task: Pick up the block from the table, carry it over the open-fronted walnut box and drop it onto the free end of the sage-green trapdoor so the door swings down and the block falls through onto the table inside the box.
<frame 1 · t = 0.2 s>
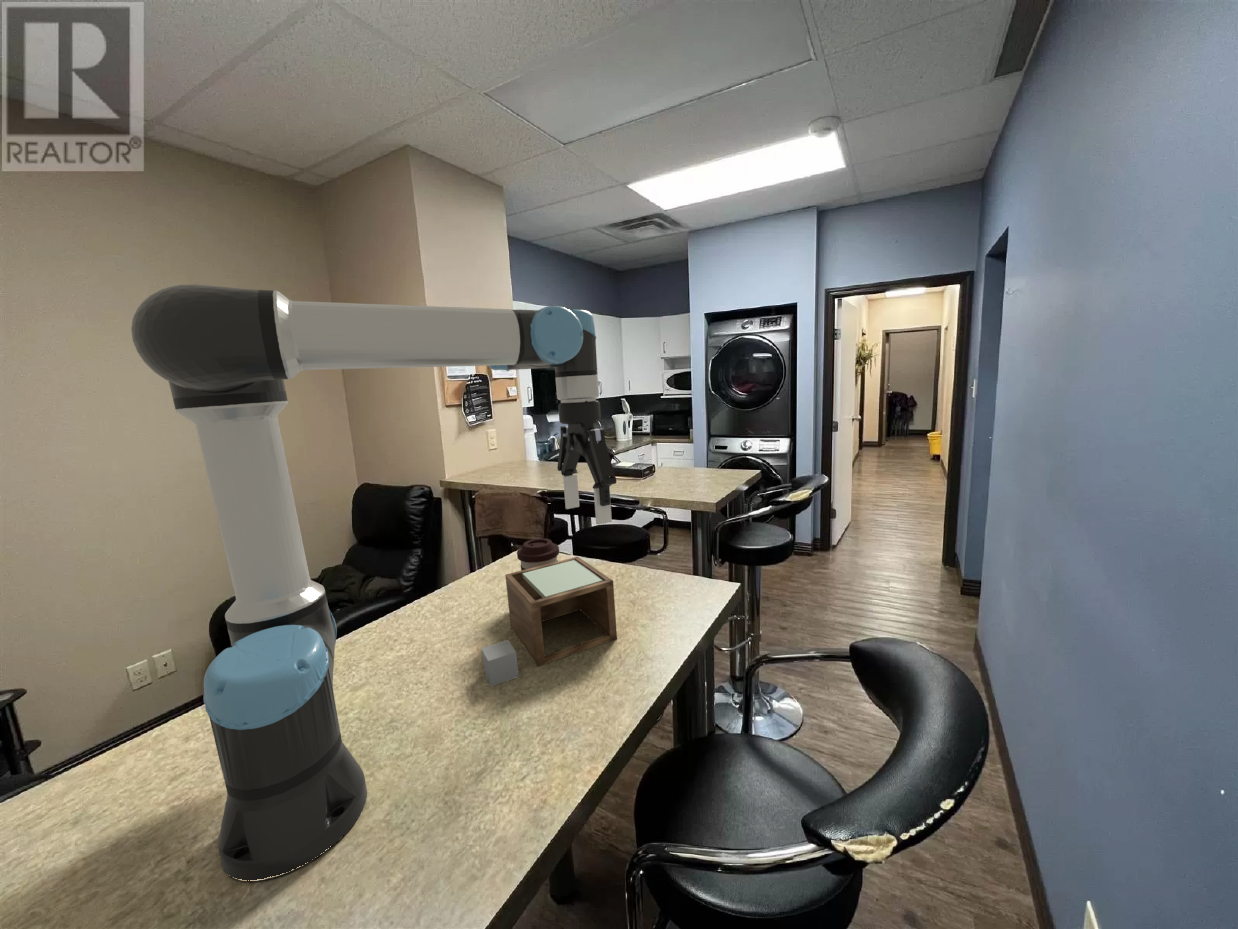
hand: (587, 514, 90), 27 cm above the table, fingers open, 13 cm apart
coffee cup: (543, 602, 117), on the table
box frame: (562, 633, 101), on the table
trapdoor: (562, 578, 99), point 12 cm above the table, hinge at -0.3°
block: (501, 675, 88), on the table
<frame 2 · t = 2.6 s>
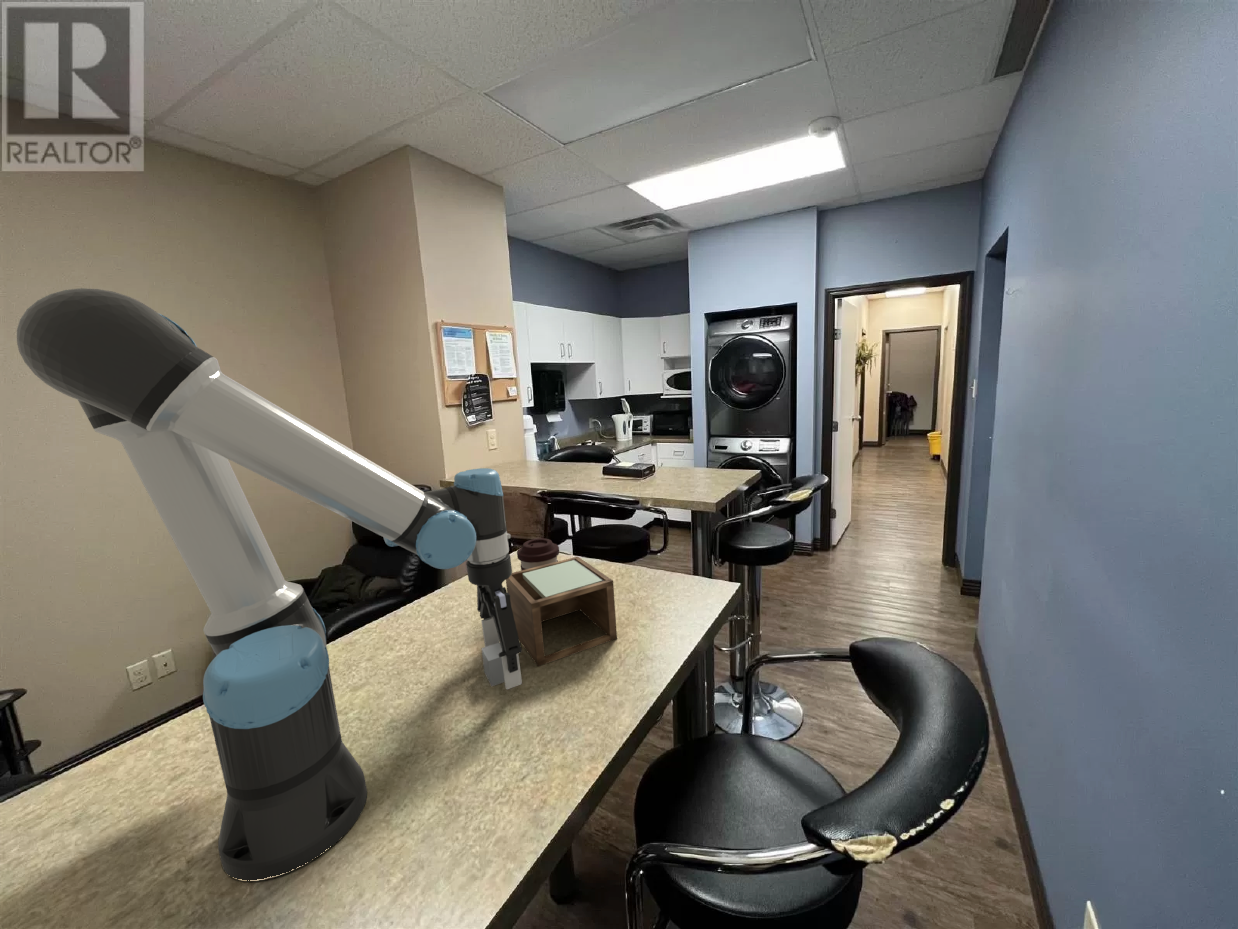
hand: (502, 666, 88), 1 cm above the table, fingers open, 13 cm apart
nothing on the table moved.
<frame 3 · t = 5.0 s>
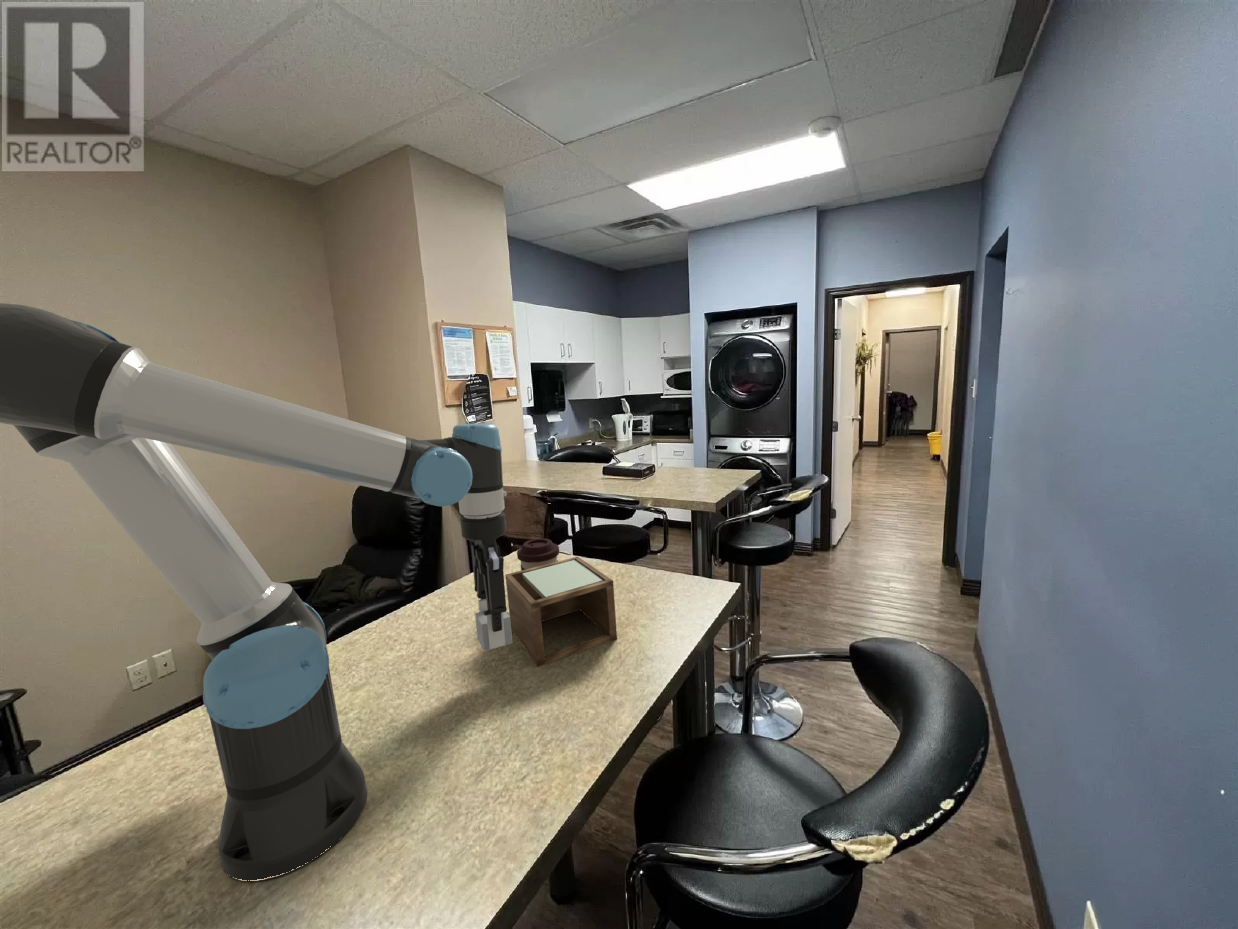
hand: (492, 638, 86), 7 cm above the table, fingers closed on block, 5 cm apart
block: (494, 641, 86), point 7 cm above the table, touching gripper
everything else where it was.
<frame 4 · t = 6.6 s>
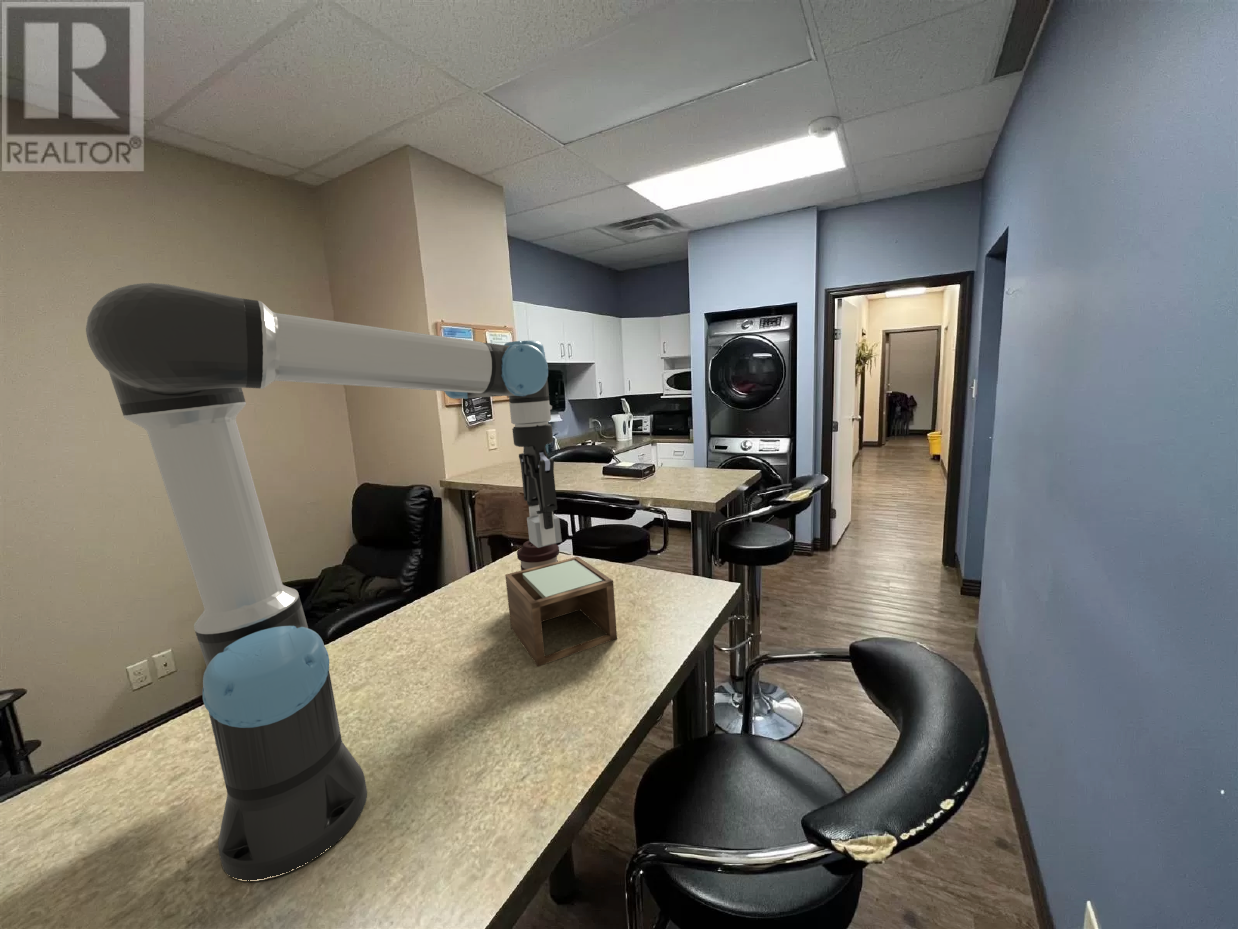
hand: (543, 539, 96), 21 cm above the table, fingers closed on block, 5 cm apart
block: (545, 541, 96), point 21 cm above the table, touching gripper
everything else where it was.
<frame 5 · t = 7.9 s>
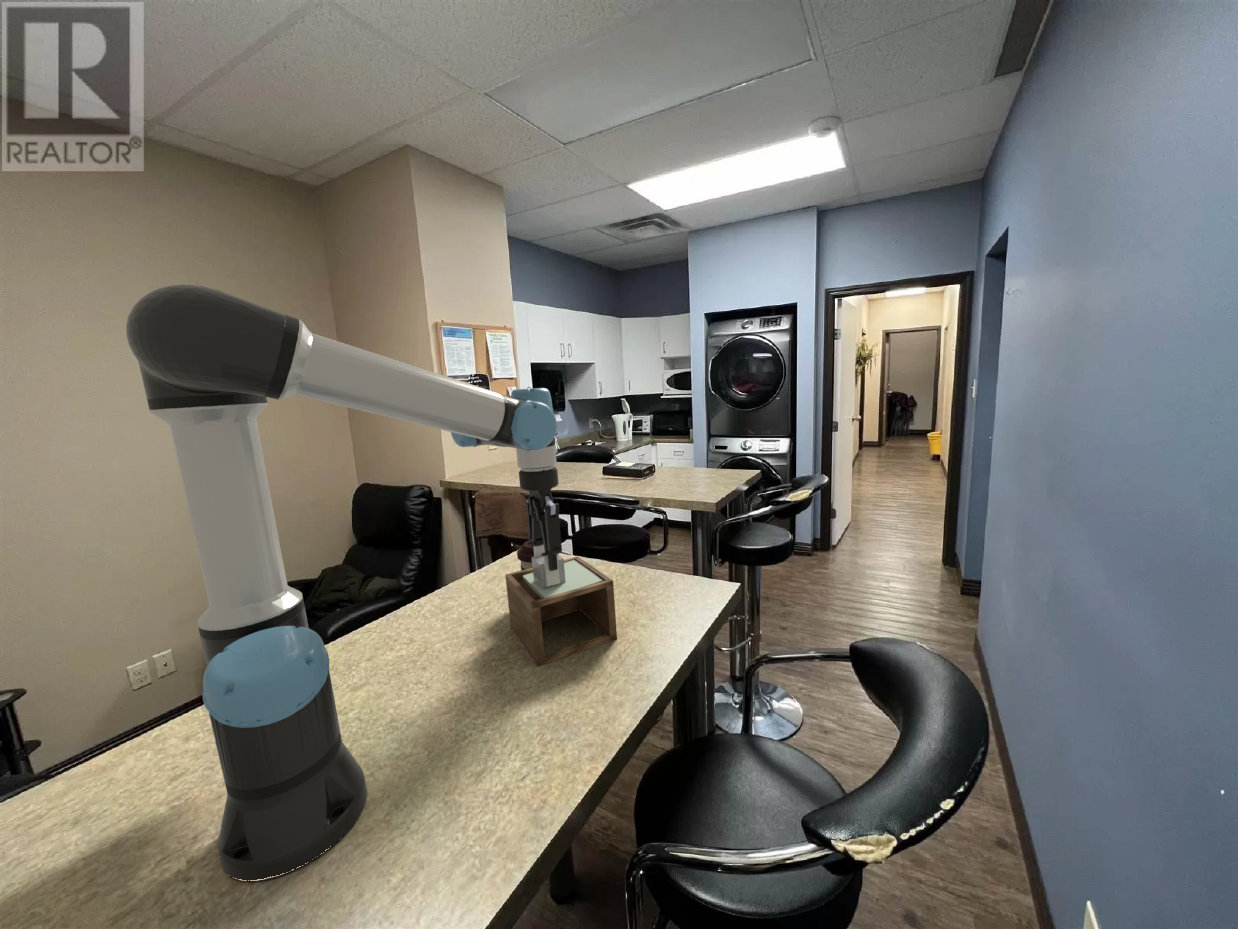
hand: (547, 579, 98), 13 cm above the table, fingers closed on block, 5 cm apart
trapdoor: (562, 579, 99), point 12 cm above the table, hinge at -2.9°, touching block
block: (549, 581, 98), point 12 cm above the table, touching gripper, trapdoor
everything else where it was.
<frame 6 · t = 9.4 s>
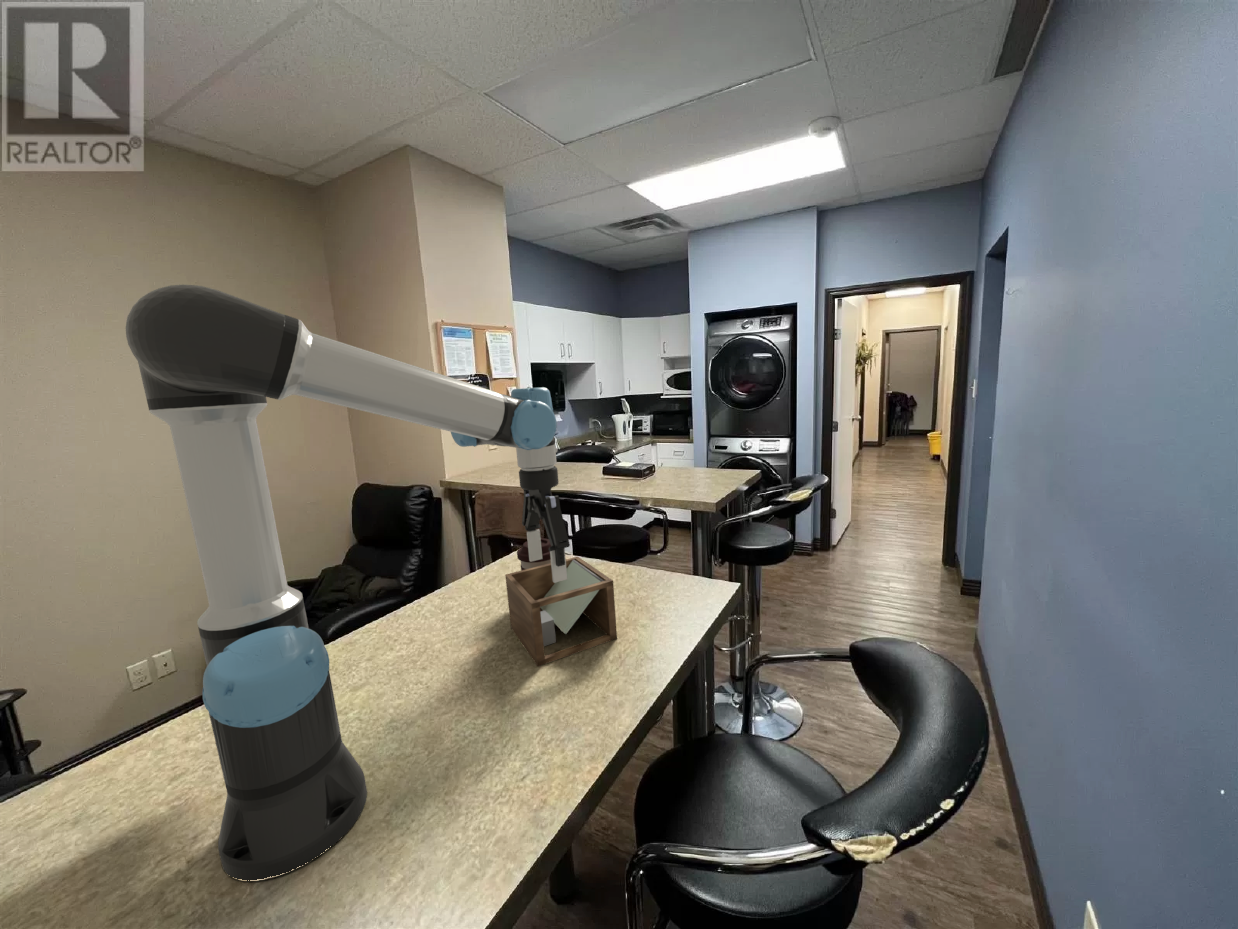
hand: (547, 569, 97), 15 cm above the table, fingers open, 13 cm apart
trapdoor: (570, 594, 101), point 8 cm above the table, hinge at -41.7°, touching block
block: (550, 625, 99), point 3 cm above the table, tilted 91°, touching box frame, trapdoor
everything else where it was.
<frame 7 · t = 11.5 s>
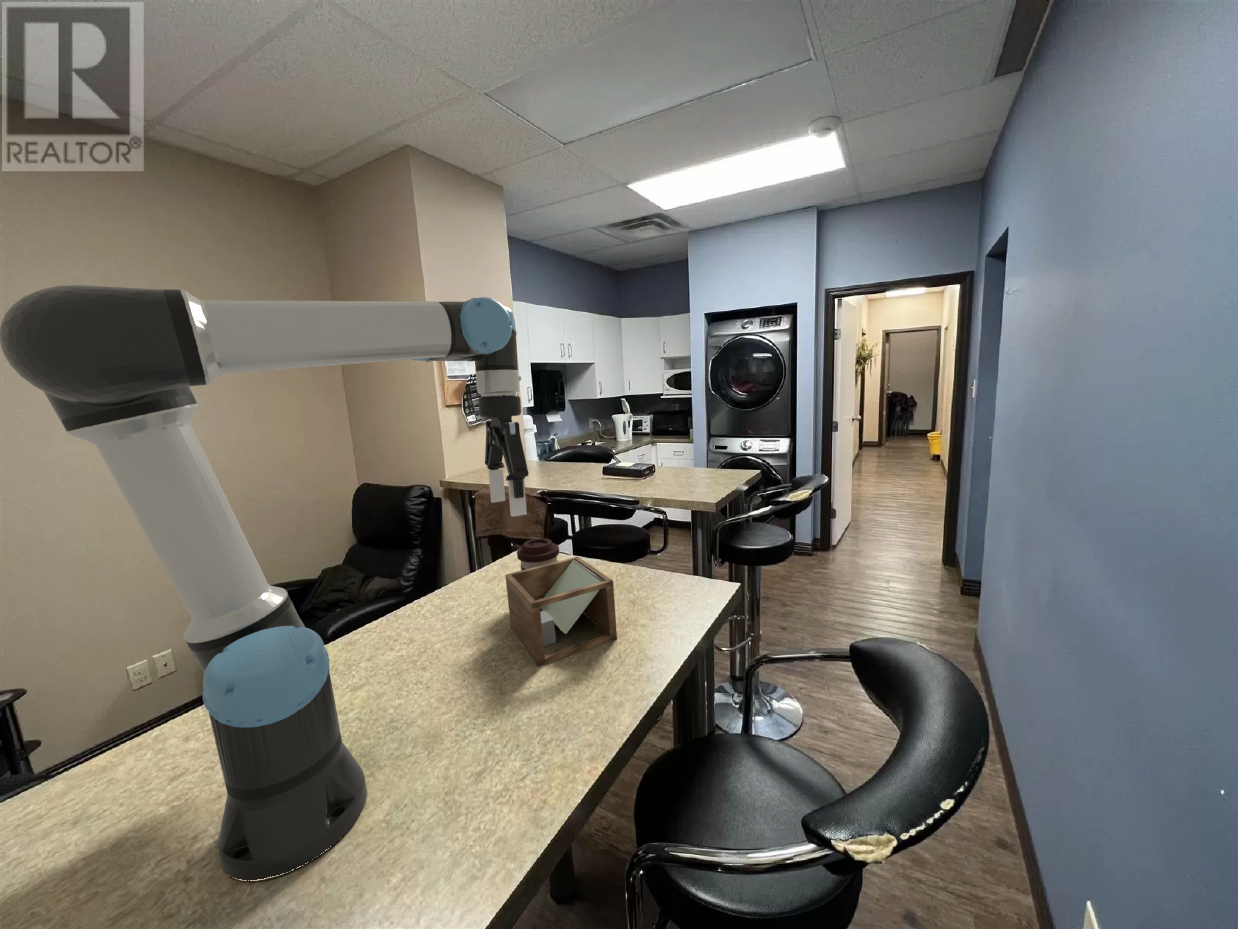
hand: (507, 508, 91), 29 cm above the table, fingers open, 13 cm apart
nothing on the table moved.
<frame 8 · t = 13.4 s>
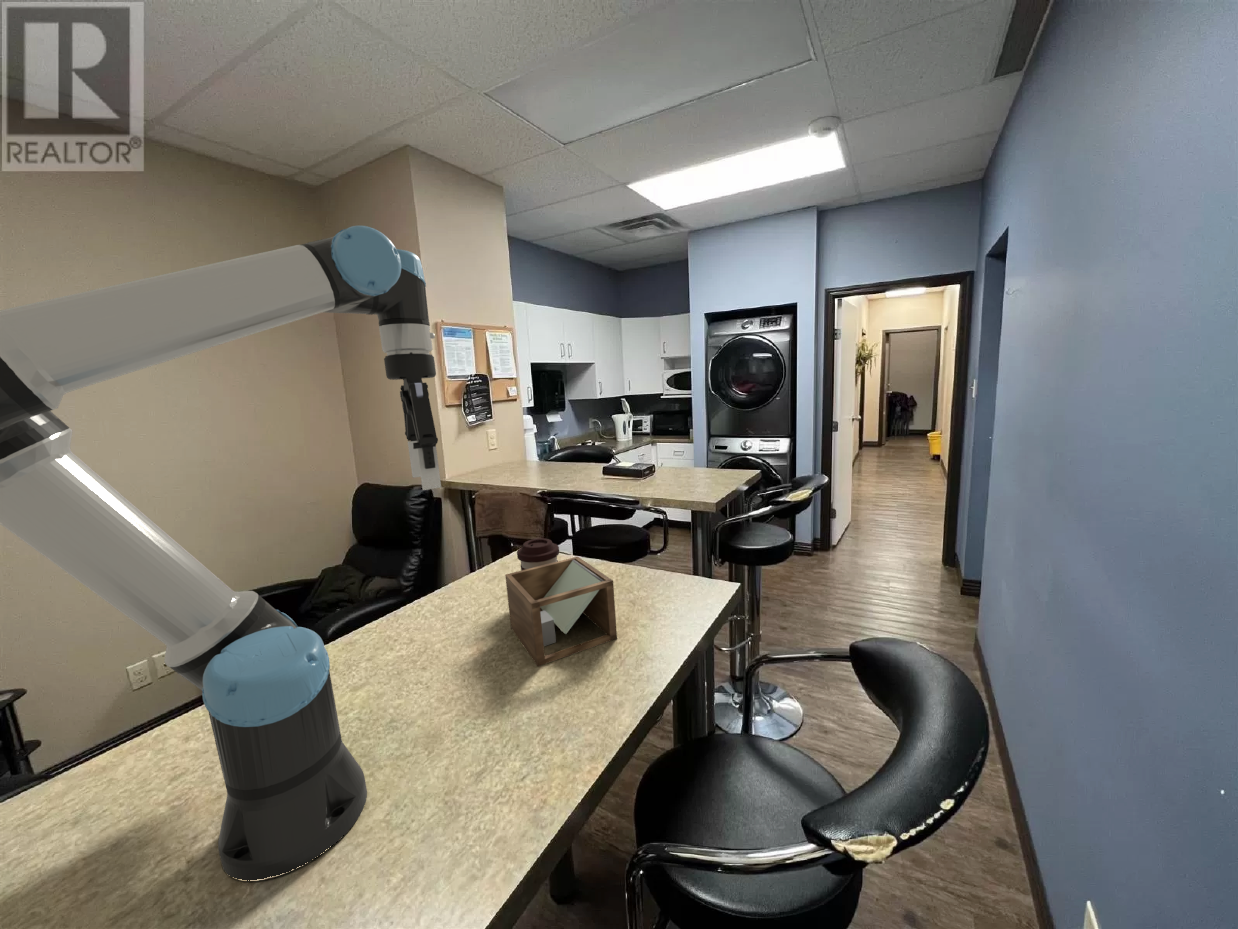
hand: (425, 482, 81), 37 cm above the table, fingers open, 13 cm apart
nothing on the table moved.
at the end: block point 2.5 cm above the table; block inside the target area on the box frame (2.5 cm from its centre), point 2.5 cm above the box frame's base; the gripper is holding nothing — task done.
